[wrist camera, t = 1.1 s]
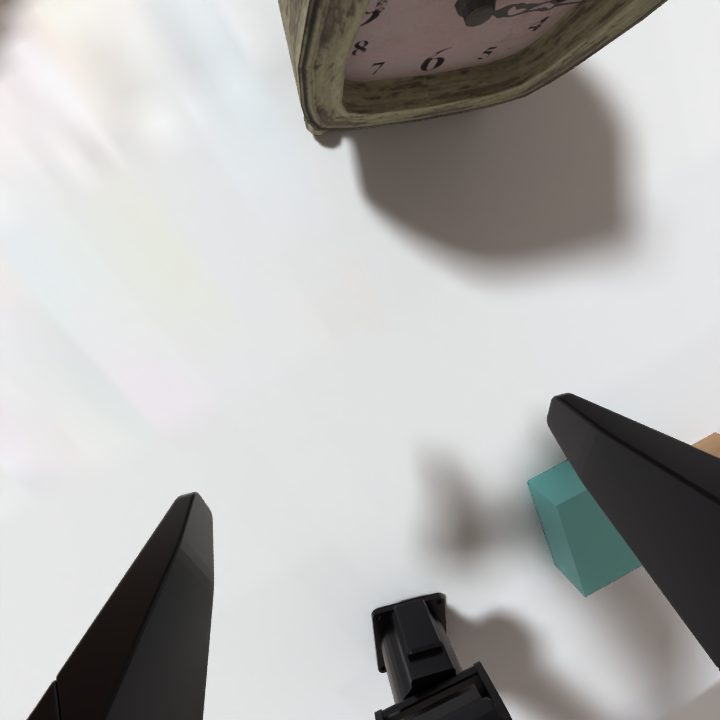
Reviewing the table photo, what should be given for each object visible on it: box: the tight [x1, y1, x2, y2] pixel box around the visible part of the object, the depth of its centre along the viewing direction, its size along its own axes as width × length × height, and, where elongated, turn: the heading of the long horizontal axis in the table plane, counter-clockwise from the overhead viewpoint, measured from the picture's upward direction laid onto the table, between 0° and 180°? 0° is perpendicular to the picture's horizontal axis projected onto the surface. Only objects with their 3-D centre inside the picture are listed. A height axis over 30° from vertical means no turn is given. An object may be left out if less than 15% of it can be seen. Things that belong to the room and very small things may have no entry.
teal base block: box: [527, 460, 642, 597], centre depth 32 cm, size 10×10×4 cm
